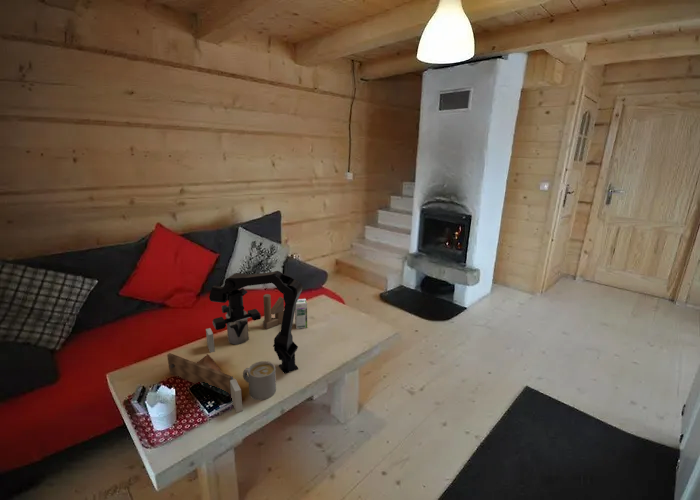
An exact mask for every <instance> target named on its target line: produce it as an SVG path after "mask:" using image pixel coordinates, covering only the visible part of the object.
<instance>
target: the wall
mask: <svg viewBox="0 0 700 500" xmlns="http://www.w3.org/2000/svg"><path fill="white" fill-rule="evenodd" d="M205 334H206V335H205V336H206V344H207V346H206V347H207V349H208V351H209V353H210V354H211V353H215V352H216V349H215V339H214V333H213V331H212V329H211V327H209V328H205ZM230 389H231V398H232V401H233V403H232V406H233V408H234V410H235V413H237V414H238V413H240V412H243V401H242V399H243V398H242V388H241V387H240V385H239V383H238V381H237V379H236V378H234V377H233V376H232V375H231V380H230ZM231 398H230V399H231ZM232 401H231V402H232Z"/></svg>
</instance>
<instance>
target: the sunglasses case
mask: <svg viewBox="0 0 700 500" xmlns="http://www.w3.org/2000/svg"><path fill="white" fill-rule="evenodd" d="M196 363H198V364H200V365H203V366H206V367H208V368H211V369H214V370H216V371H219V372H222V371H221V369H220V367H219V366H218V364H216V362H215V360H214V359H213V358H212V357H211V355H210V354H208V353H207V354H206V355H204V356H203V357H202V358H201V359H200V360H198V361H197V362H196Z"/></svg>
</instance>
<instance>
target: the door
mask: <svg viewBox="0 0 700 500" xmlns="http://www.w3.org/2000/svg"><path fill="white" fill-rule="evenodd" d="M166 357H167V363H168V371H169V374H170V375H173V376H175V377H178V376H179V377H178V378H180V377H181V378H180V379H183V380H185V381H188V382H190V383H193V384H195V383H198V382H205V383H208V384H209V385H212V386H215V387H217V388H220V389H222V390H224V391H226V392H228V393H229V394H231V389H230V380H231V377H232V375H229V374H227V373H224V372H222V371H221V372H219V371H216V370H214V369H211V368H208V367H206V366H203V365H200V364H198V363H197V362H195V361H192V360H189V359H188V358H184V357H181V356H178V355H177V354H174V353H171V352H170V353H167V355H166Z"/></svg>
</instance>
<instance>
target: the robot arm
mask: <svg viewBox="0 0 700 500" xmlns="http://www.w3.org/2000/svg"><path fill="white" fill-rule="evenodd" d="M267 284H272V285H274V286H275V287H276V288H277V290H278V291H279V293H281V294H282V295H283V297H282V298H283V299H284V314H283V320H282V324H281V327H280V331H278V333H277V334H276V335H275V337H274V338H273V345H272V347H273V350H274V352H275V353H276V355H277V358H278V359H279V361H281V364H280V363H279V364H278V367H279V369H280V370H281V372H282V373H283V374H285V375H286V374H288V373H291V372H294V371H297V370H299V367H298V366H297V364H296V354H295V353H296V352H297V350H298V348H299V346H298V345H297V344H296V342H294V341H293V339H294V338H293V334H292V329H293V323H294V320H295V307H296V303H297V300H298V299H300V296H301V293H302V291H303V284H302V283H301V282H300V281H299V280H296V279H294V278H293V277H292V276H290V275H287V274H284V273H283V272H282V271H280V270H275V271H270V272H269V271H267V272H262V273H252V274H246V273H243V272H235V273H233V274H231V275H230V276H228V277H227V278H226V279H225V280H224V285H223V286H220V285H219V286H218V285H213V286H211V291H210V292H209V295H208V298H209V301H210V302H212V303H219V304H220V303H221V304H222V303H223V304H224V305H221V312H222V314H228V316H230V318H228V319H226V318H224V317H223V316H220V317H215V318H213V319H212V325H213V327H214V329H215V330H216V331H220V330H223V329H226V328H227V323H228V325H229V326H230V328H234V330H235V333H236V335H237V337H240V335H241V333H242V331H243V329H244V327H245V325H246V324H248V325H249V322H247V320H248V319H250V318H251V320H252V321H253V322H255V321H259V320H261V318H262V315H261V313H260V311H259V310H258V309H257V308H252V309H249V310H247V314H244V311H245V306H244V296H245V295H246V294H247V293H248V291H247V290H246V289H245V287H248V286H249V287H250V286H257V285H267ZM227 302H228V306H227V304H225V303H227ZM236 321H238V325H237V324H236Z"/></svg>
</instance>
